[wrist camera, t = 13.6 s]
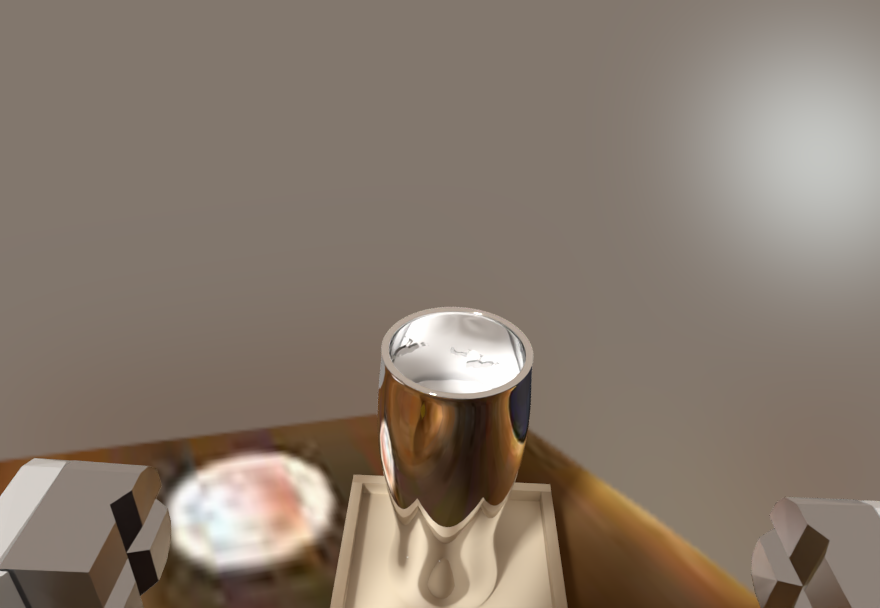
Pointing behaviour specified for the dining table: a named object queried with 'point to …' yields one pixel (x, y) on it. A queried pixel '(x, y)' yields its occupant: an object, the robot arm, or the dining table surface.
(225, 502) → the dining table surface
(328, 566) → the dining table surface
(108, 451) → the dining table surface
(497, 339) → the beer glass
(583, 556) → the dining table surface
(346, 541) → the tray
